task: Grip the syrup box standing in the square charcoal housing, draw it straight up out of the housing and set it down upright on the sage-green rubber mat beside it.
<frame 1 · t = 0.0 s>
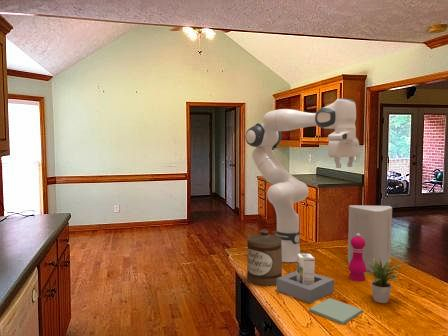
hand: (344, 167, 165), 48 cm above the kitchen island, tool pointing down, fingers open, 8 cm apart
pepper mill: (357, 278, 163), on the kitchen island
house plant: (381, 302, 139), on the kitchen island
paper bag: (371, 267, 178), on the kitchen island
mat: (335, 311, 131), on the kitchen island
housing: (305, 291, 149), on the kitchen island
syrup box: (305, 291, 149), resting in housing
wooden container: (264, 280, 162), on the kitchen island
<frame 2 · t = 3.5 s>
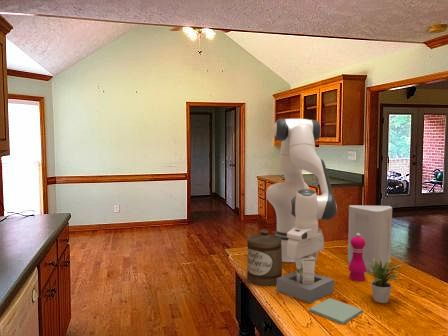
hand: (306, 265, 148), 10 cm above the kitchen island, tool pointing down, fingers open, 8 cm apart
nothing on the kitchen island moved.
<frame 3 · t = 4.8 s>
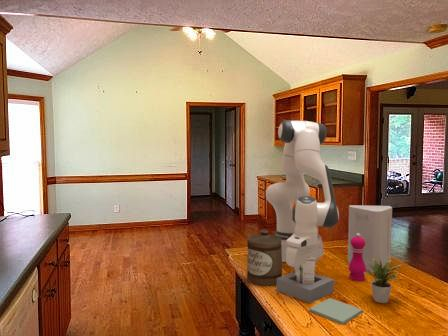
hand: (305, 272, 149), 8 cm above the kitchen island, tool pointing down, fingers closed on syrup box, 8 cm apart
syrup box: (305, 291, 149), resting in housing, touching gripper
everything else where it was.
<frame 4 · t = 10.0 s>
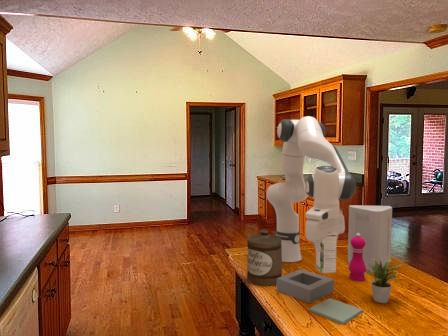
hand: (326, 249, 136), 21 cm above the kitchen island, tool pointing down, fingers closed on syrup box, 8 cm apart
syrup box: (325, 271, 136), point 13 cm above the kitchen island, touching gripper
everything else where it was.
when the fingers open (9 cm above the kitchen island, at t = 15.4 s): syrup box stays where it is, resting on mat.
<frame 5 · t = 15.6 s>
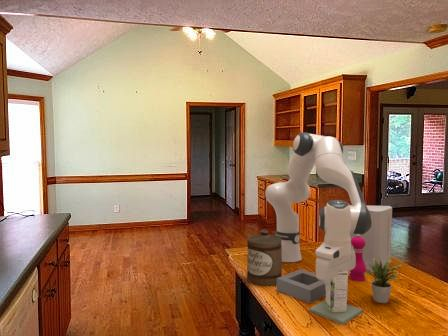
hand: (336, 286, 131), 9 cm above the kitchen island, tool pointing down, fingers open, 8 cm apart
syrup box: (336, 309, 131), point 1 cm above the kitchen island, touching gripper, mat
everything else where it was.
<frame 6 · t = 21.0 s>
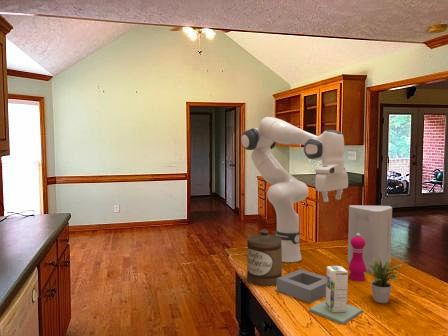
hand: (332, 200, 161), 34 cm above the kitchen island, tool pointing down, fingers open, 8 cm apart
syrup box: (336, 309, 131), point 1 cm above the kitchen island, touching mat
everything else where it was.
at the end: syrup box inside the target area on the mat (0.2 cm from its centre), point 0.8 cm above the mat's base; syrup box tilted 0°; the gripper is holding nothing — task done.
